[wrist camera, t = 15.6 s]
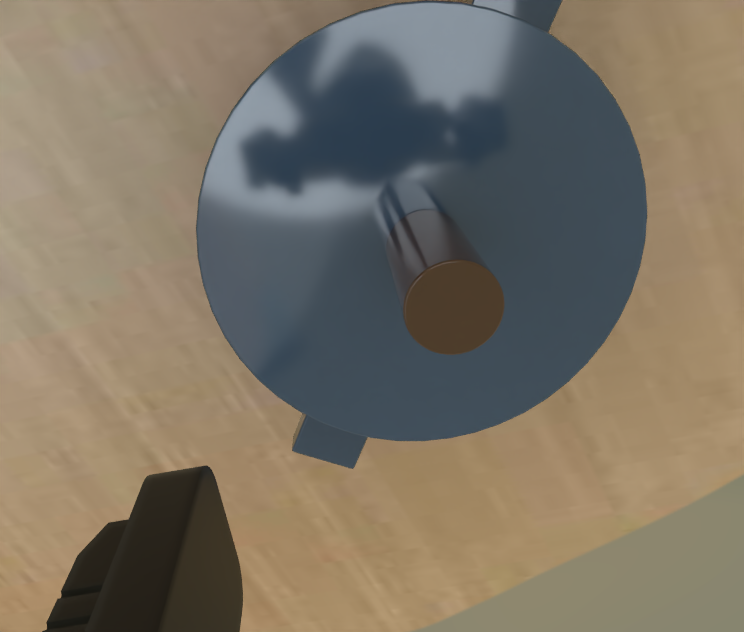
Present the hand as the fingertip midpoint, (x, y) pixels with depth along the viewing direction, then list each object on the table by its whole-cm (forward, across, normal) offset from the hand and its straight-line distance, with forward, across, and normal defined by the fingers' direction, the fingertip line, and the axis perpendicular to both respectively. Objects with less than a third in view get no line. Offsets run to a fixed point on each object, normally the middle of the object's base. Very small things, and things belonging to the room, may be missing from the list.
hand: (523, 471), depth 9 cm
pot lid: (+13, 0, +1) cm, 13 cm away
